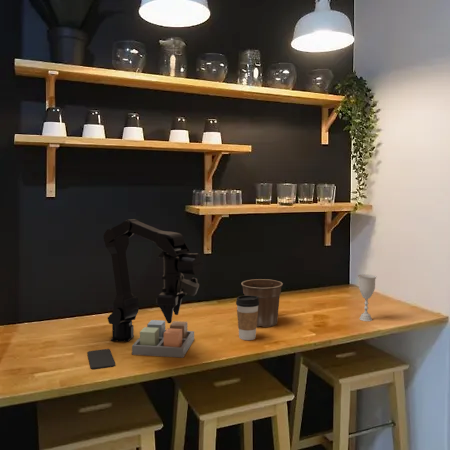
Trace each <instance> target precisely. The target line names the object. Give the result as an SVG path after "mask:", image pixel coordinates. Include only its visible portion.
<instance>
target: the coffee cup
mask: <svg viewBox="0 0 450 450" xmlns="http://www.w3.org/2000/svg"><path fill="white" fill-rule="evenodd" d="M258 305H259V298H258V296H249V295H239V296H237V297H236V301H235V306H236V316H237V326H238V337H239V339H241V340H243V341H252V340H255V339H256V338H257V337H256V336H257V335H256V334H257V328H258V327H257V318H258Z"/></svg>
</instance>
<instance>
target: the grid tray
mask: <svg viewBox="0 0 450 450" xmlns="http://www.w3.org/2000/svg"><path fill="white" fill-rule="evenodd" d="M169 328H172V329H182V346H181V347H168V346H164V332H165V331H166V330H167V329H166V320H157V319H151V320H150V321H149V322H148V323H147V324H146V326H144V327H142V329H141V330H140V331H139V338H138V339H136V341H135V342H134V343H133V344H132V345H131V355H132V356H133V355H134V356H135V355H136V356H147V357H164V358H165V357H168V358H184V357H185V356H186V354H187V352H188V351H189V349H190V347H191V346H192V344H193V342H194V341H195V331H193V330H188V321H178V320H173V321H172V322H171V323H170V325H169Z"/></svg>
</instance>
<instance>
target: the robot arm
mask: <svg viewBox="0 0 450 450" xmlns="http://www.w3.org/2000/svg"><path fill="white" fill-rule="evenodd" d="M134 235H135V236H136V235H137V236H139V237H141V238H143V239H146V240H148V241H150V242H153V243H154V244H155V246H156V247H157V248H158V249H160V250H161V253H160V254H158V255H157V257H158V258H160V259H163V275H162V276H161V279H162V280H163V287H162V289H161V291H162V292H160V293H159V294H158V295H157V296H156V297H155V304H156V305H157V306H158V307H159V309H160V310H161V312H162V314H163V316H164V318H165V322H166V323H167V324H172V322H173V321H172V320H173V315H175V316H178V315H179V313H180V309H181V305H182V301H183V298H184V297H185V296H186V295H187V294H188V295H189V296H191V297H195V295H197V293H198V290H199V288H200V283H199V282H198V278H196V277H192V278H191V279H186V278H185V275H191V276H200V275H201V274H202V272H203V269H204V262H203V260H202V258H201V257H200V253H197V252H196V253H192V251H191V250H190V248H189V246H188V245H187V243H186V241H185V238H184V235H183V234H182V233H180V232H176V231H175V232H174V231H167V230H161V229H159V228H156V227H154V226H151V225H149V224H146V223H144V222H141V221H139V220H138V219H137V218H133V219H126V220H125V221H123V222H121V223H120V224H118V225H116V226H113V227H111V228H109V229H106V230H105V232H104V233H103V241H104V246H105V248H106V250H107V251H108V252H109V253H110V255H111V263H112V268H113V269H112V271H113V276H114V284H115V292H116V296H115V298H114V301H113V305H112V306H113V307H112V308H113V311H112V312H111V313H110V314H109V315H108V316H107V321H108V324H110V325H112V326H111V327H112V329H111V330H112V331H111V332H112V337H111V338H110V341H112V342H127V343H128V342H129V341H130V340H131V339H132V338H134V336H135V334H134V333H135V331H134V324H133V321H135V320H136V317H137V315H138V313H139V309H140V304H139V298H138V297H139V296H134V294H133V293H132V290H131V283H130V277H129V269H128V268H129V267H128V260H127V250H128V247H129V245H130V244H129V243H130V241H129V240H130V238H131V237H132V236H134Z"/></svg>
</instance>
